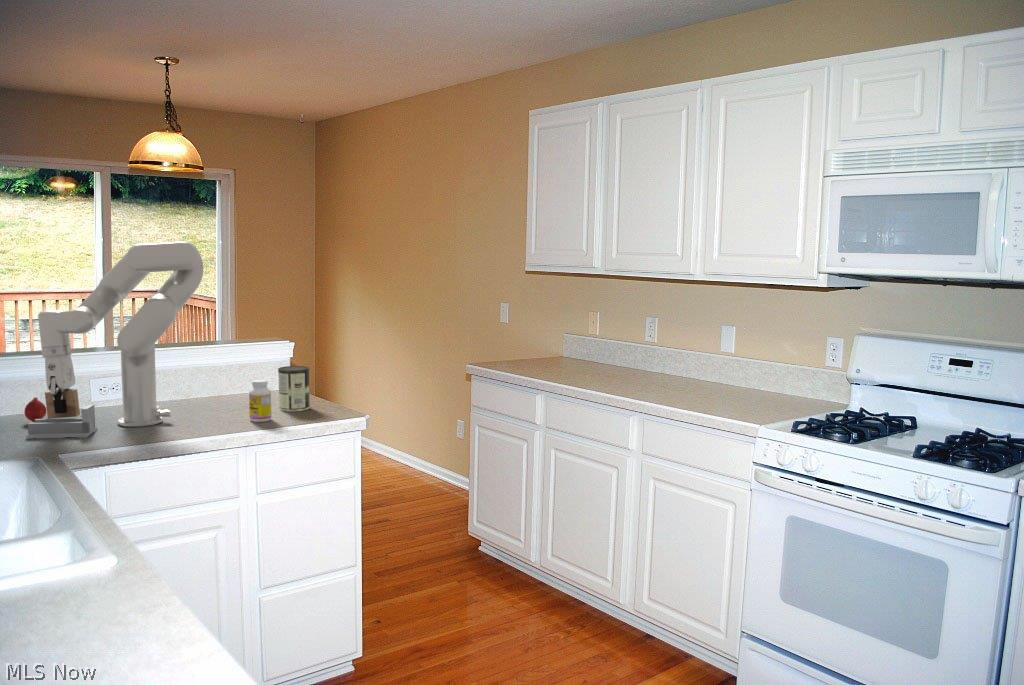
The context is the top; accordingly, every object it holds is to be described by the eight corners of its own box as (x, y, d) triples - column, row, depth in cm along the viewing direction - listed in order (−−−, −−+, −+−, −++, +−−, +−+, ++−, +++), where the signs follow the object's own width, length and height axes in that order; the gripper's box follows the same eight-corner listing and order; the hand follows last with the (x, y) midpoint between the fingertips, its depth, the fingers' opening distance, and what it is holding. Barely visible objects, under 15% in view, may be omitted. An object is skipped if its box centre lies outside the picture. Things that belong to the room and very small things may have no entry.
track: (97, 429, 239) (95, 403, 238) (86, 437, 230) (85, 410, 229) (38, 431, 236) (37, 404, 235) (26, 438, 227) (24, 411, 226)
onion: (36, 425, 243) (35, 399, 242) (20, 424, 244) (19, 398, 243) (51, 421, 249) (49, 396, 248) (35, 420, 250) (33, 395, 249)
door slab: (80, 414, 244) (77, 388, 242) (76, 416, 241) (73, 390, 240) (51, 416, 242) (48, 390, 241) (47, 418, 239) (44, 392, 238)
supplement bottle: (245, 420, 256) (244, 380, 254) (264, 417, 260) (263, 378, 259) (256, 423, 251) (255, 383, 249) (275, 420, 256) (274, 380, 254)
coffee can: (295, 404, 281) (294, 364, 279) (316, 408, 275) (315, 367, 274) (272, 409, 272) (271, 368, 270) (293, 413, 267) (292, 371, 265)
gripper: (59, 354, 231) (67, 416, 234) (79, 346, 247) (86, 404, 250) (31, 356, 230) (39, 418, 233) (53, 348, 246) (60, 406, 249)
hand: (63, 410), depth 241 cm, fingers closed on door slab, 3 cm apart
